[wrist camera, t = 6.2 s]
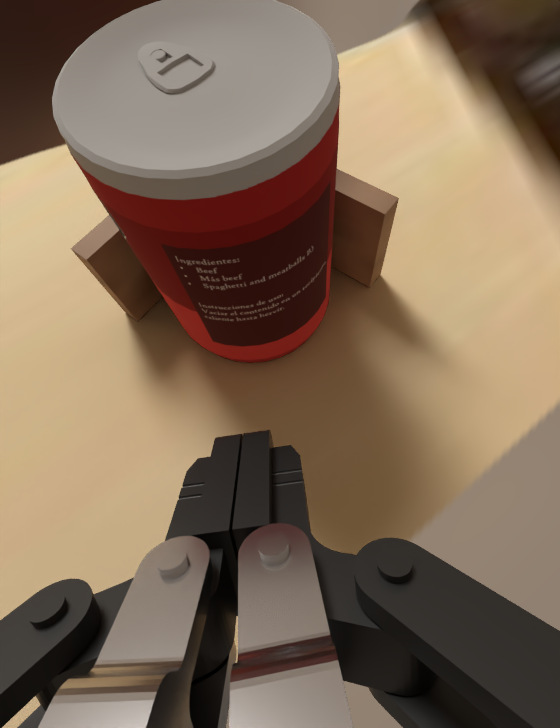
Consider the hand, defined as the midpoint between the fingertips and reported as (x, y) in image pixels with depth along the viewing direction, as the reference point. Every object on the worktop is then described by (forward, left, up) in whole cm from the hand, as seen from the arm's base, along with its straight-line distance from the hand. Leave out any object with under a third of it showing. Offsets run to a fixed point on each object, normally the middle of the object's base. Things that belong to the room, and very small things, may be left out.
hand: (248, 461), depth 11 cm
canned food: (0, +9, -6) cm, 11 cm away
